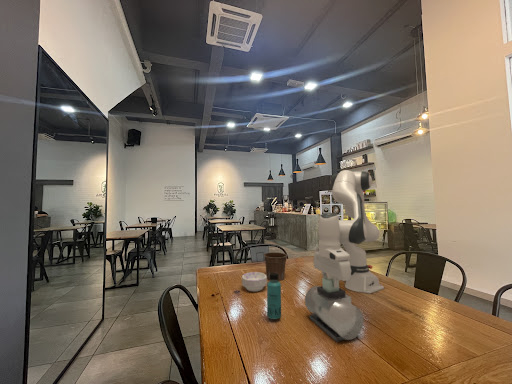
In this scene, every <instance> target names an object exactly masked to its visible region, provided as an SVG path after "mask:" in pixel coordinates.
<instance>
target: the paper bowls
mask: <svg viewBox="0 0 512 384" xmlns="http://www.w3.org/2000/svg"><path fill="white" fill-rule="evenodd" d="M267 283H268V279H267V274H265V273H264V272H260V271H251V272H246V273H244V274H242V275H241V285H242V287H244V288H245V289H246V290H247V291H248V292H259V291H262V290H263V289H264V287H267Z"/></svg>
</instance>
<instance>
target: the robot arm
mask: <svg viewBox="0 0 512 384" xmlns="http://www.w3.org/2000/svg"><path fill="white" fill-rule="evenodd" d="M372 183H373V178H372V176H371V173H369V172H368V171H364V170H363V171H352V170H348V169H344V170H341V171H339V173H335V174H333V175H332V176H331V177H330V188H331V189H332V191H331V194H332V197H333V199H334V200H335V201H336V202H337V203H339V204H341V205H343V206H344V213H345V215H346V216H347V217H349V218H351V219H349V220H348V219H347V220H346V219H339V215H338V214H337V213H334V212H326V213H322V214H320V215H319V217H318V233H317V234H318V237H319V241H318V247H317V248H316V249H315V250H314V255H313V267H314V269H316V270H318V271H321V275H322V278H327V274H329V275H331V276H333V278H334V279H335V280H334V282H332V286H333V287H335V288H338V283H339V284H340V281H342V282H345V283H344V287H345V288H346V289H347V290H349V291H353V292H356V293H365V294H372V293H375V292H379V291H382V290H384V289H385V287H384V286H383V285H382V284H380V280H379V277H378V276H376V275H375V274H374V273H373V272H372V271H370V269H371V270H372V269H373V265H371V264H367V261H368V260H367V252H366V251H365V249H363V248H362V247H360V246H358V245H360V244H362V243H363V242H365V243H369V242H370V243H371V242H376V241H378V239H379V237H380V230H379V228H378V226H377V225H375V224H374V223H372V222H371V220H370V219H369V217H368V215H367V214H366V207H365V195H364V193H365V192H366V191H367V190H369V189H370V188H371V186H372ZM341 244H342V246H343V247H344V248H342V247H341Z"/></svg>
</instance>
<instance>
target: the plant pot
mask: <svg viewBox="0 0 512 384" xmlns="http://www.w3.org/2000/svg"><path fill="white" fill-rule="evenodd" d="M263 256H264V262H265V270H266V271H265V273H266V274H265V275H266V276H267V280H269V281H270V280H271V279H269V277H270V273H277V274H278V277H279V279H277V281H279V282H280V281H283V280H284V279H285V275H286V274H285V271H286V262H287V257H288V254H287V253H284V252H277V251H274V252H273V251H272V252H266V253H263Z"/></svg>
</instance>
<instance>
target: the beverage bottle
mask: <svg viewBox="0 0 512 384" xmlns="http://www.w3.org/2000/svg"><path fill="white" fill-rule="evenodd" d="M269 279H271V280H269ZM269 279H268V280H269V281H267V285H266V289H267V290H266V291H267V292H266V297H267V298H266V303H267V304H266V311H267V312H266V315H267V318H268V319H270V320H278V319H280V318H281V317H282V289H281V288H282V284H281V282H280V281H278V280H277V279H279V277H278V274H277V273H270V277H269Z"/></svg>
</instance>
